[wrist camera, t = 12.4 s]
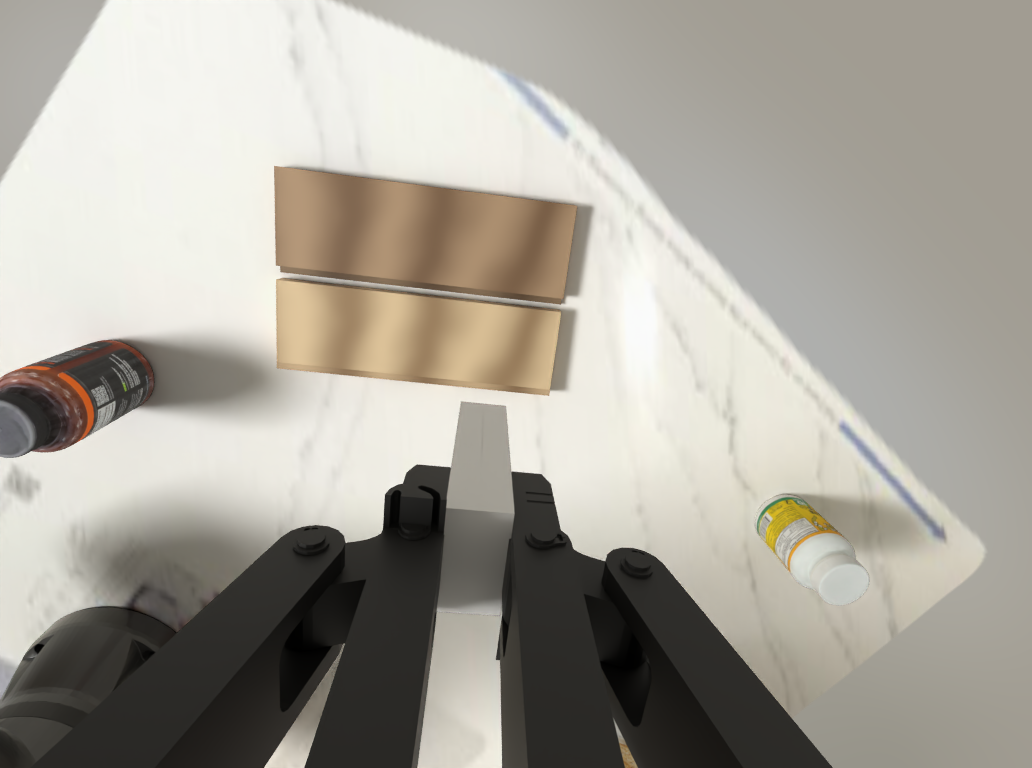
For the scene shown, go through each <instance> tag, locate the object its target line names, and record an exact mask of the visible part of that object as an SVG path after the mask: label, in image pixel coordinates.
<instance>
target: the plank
mask: <svg viewBox="0 0 1032 768" xmlns="http://www.w3.org/2000/svg"><path fill="white" fill-rule="evenodd" d="M560 318H561V311H560V310H556V309H547V308H539V307H530V306H521V305H512V304H504V303H495V302H486V301H478V300H469V299H460V298H451V297H443V296H434V295H425V294H416V293H408V292H399V291H390V290H382V289H373V288H364V287H355V286H347V285H338V284H329V283H320V282H312V281H303V280H294V279H286V278H281V279H277V280H276V320H277V368H280V369H290V370H300V371H310V372H320V373H330V374H339V375H349V376H359V377H369V378H379V379H389V380H399V381H409V382H419V383H429V384H438V385H448V386H458V387H468V388H478V389H488V390H498V391H508V392H518V393H528V394H538V395H547V396H549V393H550V386H551V379H552V372H553V365H554V358H555V352H556V345H557V338H558V331H559V324H560Z"/></svg>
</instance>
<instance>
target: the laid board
mask: <svg viewBox="0 0 1032 768" xmlns="http://www.w3.org/2000/svg"><path fill="white" fill-rule="evenodd" d="M274 179H275V239H276V265H277V266H280V270H281V272H284V273H293V274H302V275H310V276H319V277H327V278H336V279H345V280H353V281H362V282H371V283H379V284H388V285H397V286H405V287H414V288H423V289H431V290H440V291H449V292H457V293H466V294H475V295H483V296H492V297H501V298H509V299H518V300H527V301H535V302H544V303H553V304H561V299H563V297H564V291H565V284H566V277H567V271H568V264H569V258H570V251H571V244H572V238H573V231H574V224H575V218H576V211H577V206H575V205H567V204H560V203H552V202H545V201H537V200H529V199H522V198H514V197H506V196H499V195H491V194H484V193H476V192H468V191H461V190H453V189H446V188H438V187H430V186H423V185H415V184H407V183H400V182H392V181H385V180H377V179H369V178H362V177H354V176H347V175H339V174H331V173H324V172H316V171H308V170H301V169H293V168H286V167H278V166H274Z"/></svg>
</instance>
